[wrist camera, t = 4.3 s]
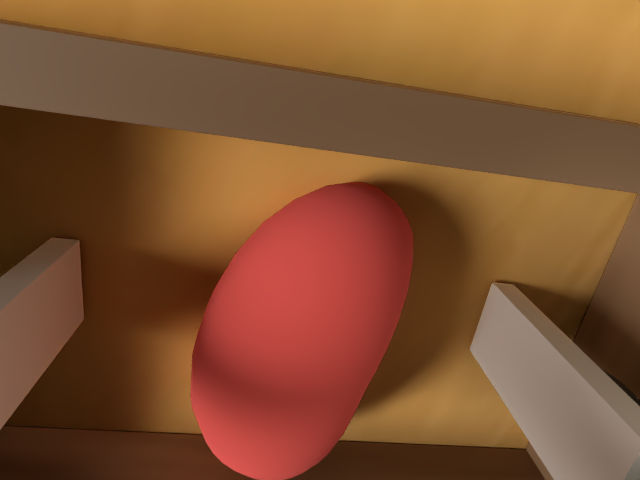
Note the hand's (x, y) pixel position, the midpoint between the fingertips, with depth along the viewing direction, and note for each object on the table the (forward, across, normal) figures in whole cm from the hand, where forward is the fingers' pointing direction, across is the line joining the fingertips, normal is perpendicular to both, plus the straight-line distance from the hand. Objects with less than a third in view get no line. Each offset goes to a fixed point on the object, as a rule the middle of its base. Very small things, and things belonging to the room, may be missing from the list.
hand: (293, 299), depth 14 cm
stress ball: (0, 0, 0) cm, 1 cm away
